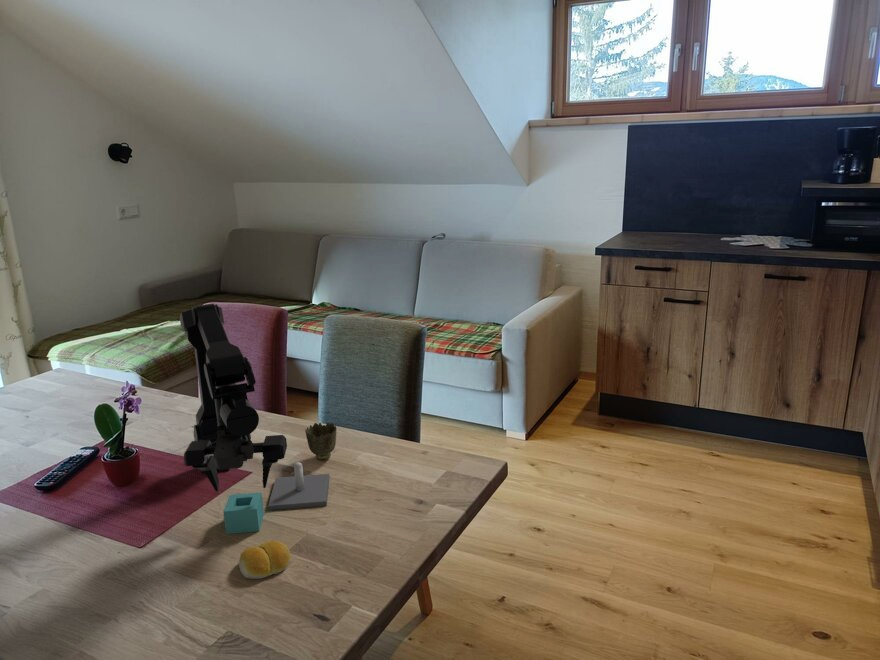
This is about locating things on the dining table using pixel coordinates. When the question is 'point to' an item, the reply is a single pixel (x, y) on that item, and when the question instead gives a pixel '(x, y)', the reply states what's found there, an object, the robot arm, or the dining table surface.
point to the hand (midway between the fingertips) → (241, 488)
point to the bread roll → (264, 560)
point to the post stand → (299, 490)
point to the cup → (321, 440)
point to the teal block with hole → (243, 513)
